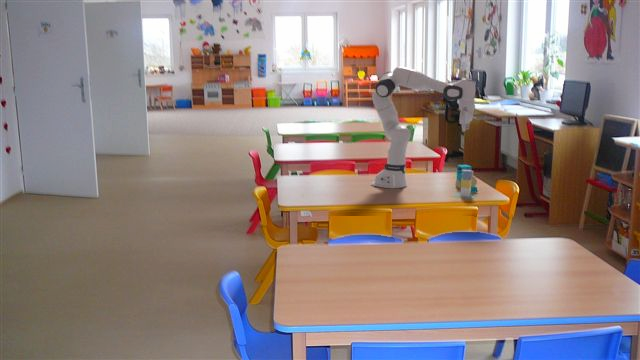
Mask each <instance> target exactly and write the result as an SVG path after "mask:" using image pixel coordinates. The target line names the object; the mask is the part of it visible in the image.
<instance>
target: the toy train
mask: <svg viewBox="0 0 640 360" xmlns="http://www.w3.org/2000/svg"><path fill="white" fill-rule="evenodd" d="M459 168H461V169H460V170H459ZM463 170H471V171H472V177H471V178H472V181H471V193H478V192H479V190H478V188H477V186H476V185H477V182H478V180H477V177H475V176H474V170H472V166H471V165H468V164H458V165H457V166H456V181H455V188H457V189H460V190H461V179H462V171H463Z"/></svg>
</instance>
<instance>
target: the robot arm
mask: <svg viewBox="0 0 640 360" xmlns="http://www.w3.org/2000/svg"><path fill="white" fill-rule="evenodd" d="M398 86H402V87H404V88H407V89H411V90H415V91H416V90H419V91H420V90H431V91H435V92H437V93H442V94H443V97H444V98H445V99H446V100H447V101H449V102H450V101H451V102H453V101H457V100H458V110H459V111H460V112H459V119H458V121H459V122H458V123H459V124H460V125H461V131H462V132H463V133H464V132H466V130H467V131H468V130H470V124H471V122H473V119H474V111H475V109H476V100H475V97H476V82H475V81H474V80H473V79H470V78H463V77H462V78H461V79H460V80H458V81H455V82H451V83H450V82H444V81H442V80H441V81H440V80H439V79H438V80H437V79H434V78H432V77H430V76H428V75H426V74H424V73H423V72H420V71H419V70H415V69H414V68H413V69H412V68H409V67H404V66H397V67H395V68H394V69H393V71H387V72H385V73H384V74H383V75H382V76H381V77H380V79H379V80H378V82H377V83H376V85H375V88H374V89H375V90H374V91H373V93H372V94H371V99H372V102H373V105H374V108H375V110H376V113H377V114H378V117H379V119H380V121H381V123H382V127H383V130H384V131H383V132H384V135H385V137H386V138H387V139H388V140H389V141H390V145H389V148H388V150H387V162H386V163H385V164H384V165H383V168H384V169H382V170H381V171H379V172H378V173H377V174H376V175H375V178H374V181H372V182H371V183H370V186H372V187H373V186H375V187H378V188H379V187H380V188H386V189H399V188H401V189H402V188H407V185H408V184H407V182H406V181H407V180H406V172H407V168H406V153H407V147H408V143H409V141H410V140H411V137H412V134H411V131H410V130H409V128H408V127H407V126H404V125H402V124H401V123H400V120H399V115H398V114H399V113H398V111H397V109H396V107H395V104H394V103H393V100H392V98H391V95H392V94H393V93H394V92H395V91H396V89H397V87H398Z"/></svg>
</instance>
